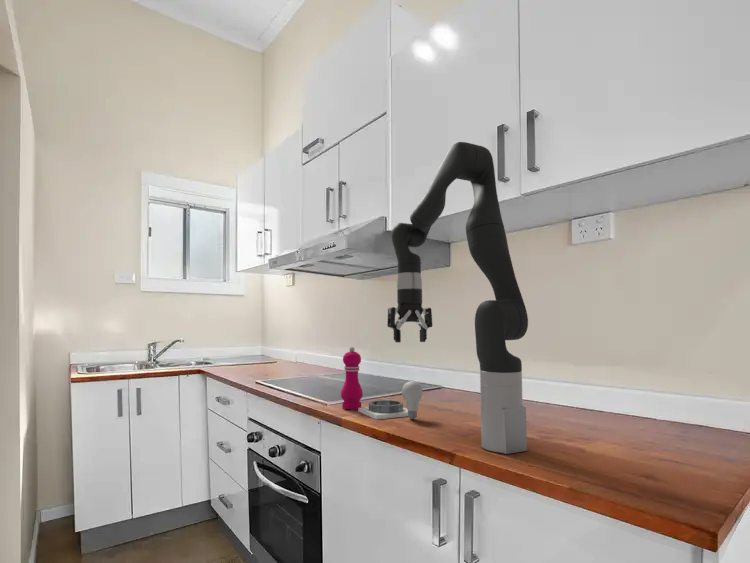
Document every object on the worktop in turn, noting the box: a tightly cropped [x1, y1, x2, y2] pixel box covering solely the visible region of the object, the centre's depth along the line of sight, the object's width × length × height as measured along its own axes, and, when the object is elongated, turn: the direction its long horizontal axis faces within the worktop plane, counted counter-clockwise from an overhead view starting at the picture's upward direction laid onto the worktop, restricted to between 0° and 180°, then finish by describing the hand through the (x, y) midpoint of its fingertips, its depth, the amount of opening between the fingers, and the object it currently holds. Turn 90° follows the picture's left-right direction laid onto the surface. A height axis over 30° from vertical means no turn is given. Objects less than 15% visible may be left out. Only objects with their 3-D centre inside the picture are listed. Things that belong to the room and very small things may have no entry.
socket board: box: [357, 406, 408, 420], centre depth 143 cm, size 13×13×1 cm
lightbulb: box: [401, 380, 424, 420], centre depth 135 cm, size 6×6×11 cm
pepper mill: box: [340, 346, 364, 411], centre depth 153 cm, size 7×7×20 cm
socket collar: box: [368, 399, 404, 413], centre depth 143 cm, size 10×10×2 cm
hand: (410, 342), depth 139 cm, fingers open, 8 cm apart
